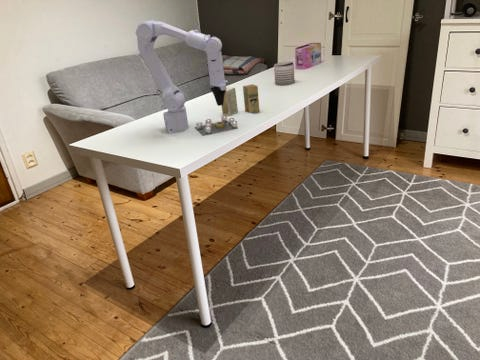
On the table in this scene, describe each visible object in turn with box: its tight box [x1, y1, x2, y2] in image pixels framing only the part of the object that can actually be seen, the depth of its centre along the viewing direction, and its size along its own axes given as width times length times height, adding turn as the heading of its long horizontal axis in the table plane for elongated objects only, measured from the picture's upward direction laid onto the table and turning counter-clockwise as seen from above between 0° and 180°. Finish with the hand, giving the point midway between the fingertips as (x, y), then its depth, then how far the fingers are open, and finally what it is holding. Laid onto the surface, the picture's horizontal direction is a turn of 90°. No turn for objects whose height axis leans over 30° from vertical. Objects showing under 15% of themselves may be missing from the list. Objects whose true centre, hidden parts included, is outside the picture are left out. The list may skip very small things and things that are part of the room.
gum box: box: [294, 42, 322, 70], centre depth 265 cm, size 24×8×14 cm, turn 142°
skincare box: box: [221, 86, 239, 117], centre depth 175 cm, size 6×4×12 cm
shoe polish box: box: [242, 84, 260, 115], centre depth 177 cm, size 5×5×12 cm
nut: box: [214, 120, 226, 129], centre depth 161 cm, size 4×5×2 cm
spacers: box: [195, 115, 239, 135], centre depth 160 cm, size 15×12×2 cm
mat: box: [193, 119, 239, 137], centre depth 161 cm, size 15×13×1 cm
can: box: [273, 60, 296, 87], centre depth 223 cm, size 11×11×12 cm
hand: (220, 105), depth 157 cm, fingers closed
